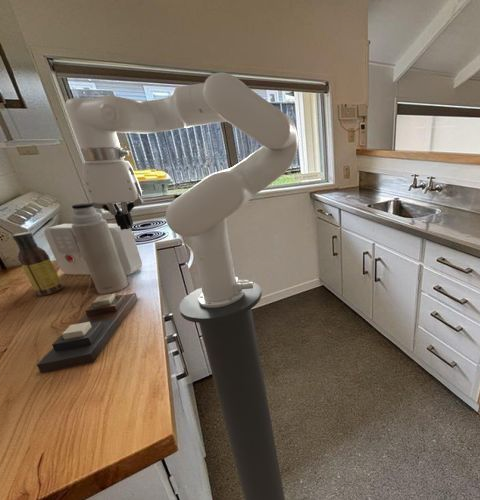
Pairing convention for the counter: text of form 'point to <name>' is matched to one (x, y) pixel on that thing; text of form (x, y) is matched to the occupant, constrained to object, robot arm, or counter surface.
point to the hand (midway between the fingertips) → (126, 228)
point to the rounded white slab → (71, 254)
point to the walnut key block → (110, 310)
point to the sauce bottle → (37, 265)
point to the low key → (104, 300)
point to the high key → (77, 330)
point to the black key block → (78, 347)
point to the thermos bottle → (98, 249)
